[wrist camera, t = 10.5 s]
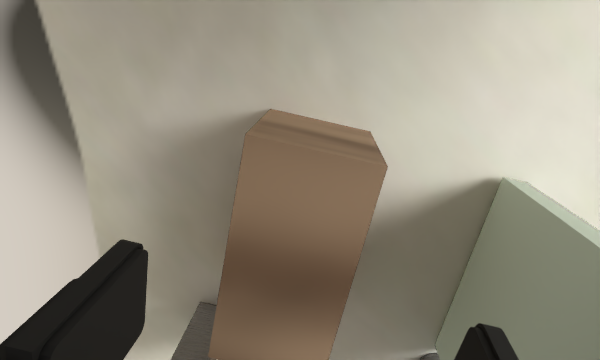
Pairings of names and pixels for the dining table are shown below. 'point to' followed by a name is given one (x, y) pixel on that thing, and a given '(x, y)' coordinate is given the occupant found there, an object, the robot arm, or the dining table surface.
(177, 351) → the door frame
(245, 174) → the block
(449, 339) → the door
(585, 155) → the dining table surface
